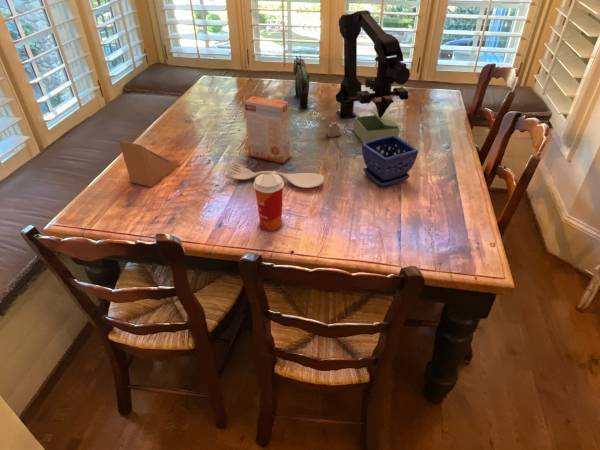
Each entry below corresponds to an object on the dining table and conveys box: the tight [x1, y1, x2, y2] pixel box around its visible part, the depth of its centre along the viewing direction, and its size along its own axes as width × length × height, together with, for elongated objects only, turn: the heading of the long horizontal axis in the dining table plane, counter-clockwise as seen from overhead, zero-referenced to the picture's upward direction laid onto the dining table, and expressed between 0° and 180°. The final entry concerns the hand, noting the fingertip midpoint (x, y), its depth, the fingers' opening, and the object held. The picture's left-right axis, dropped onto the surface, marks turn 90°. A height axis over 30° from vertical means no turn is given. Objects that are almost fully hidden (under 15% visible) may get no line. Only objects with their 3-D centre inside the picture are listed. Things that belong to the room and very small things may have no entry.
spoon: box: [224, 162, 325, 189], centre depth 143 cm, size 9×32×3 cm, turn 79°
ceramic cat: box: [292, 55, 310, 111], centre depth 193 cm, size 20×6×20 cm, turn 6°
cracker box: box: [244, 95, 291, 164], centre depth 151 cm, size 14×6×21 cm, turn 65°
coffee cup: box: [253, 173, 285, 232], centre depth 121 cm, size 8×8×15 cm
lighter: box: [321, 116, 341, 138], centre depth 168 cm, size 7×2×8 cm, turn 103°
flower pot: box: [361, 135, 419, 188], centre depth 142 cm, size 13×13×12 cm
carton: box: [353, 114, 400, 143], centre depth 168 cm, size 14×13×6 cm
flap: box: [370, 109, 400, 128], centre depth 166 cm, size 14×6×1 cm, turn 14°
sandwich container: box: [119, 140, 179, 188], centre depth 144 cm, size 9×15×15 cm, turn 158°
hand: (380, 117), depth 165 cm, fingers closed
